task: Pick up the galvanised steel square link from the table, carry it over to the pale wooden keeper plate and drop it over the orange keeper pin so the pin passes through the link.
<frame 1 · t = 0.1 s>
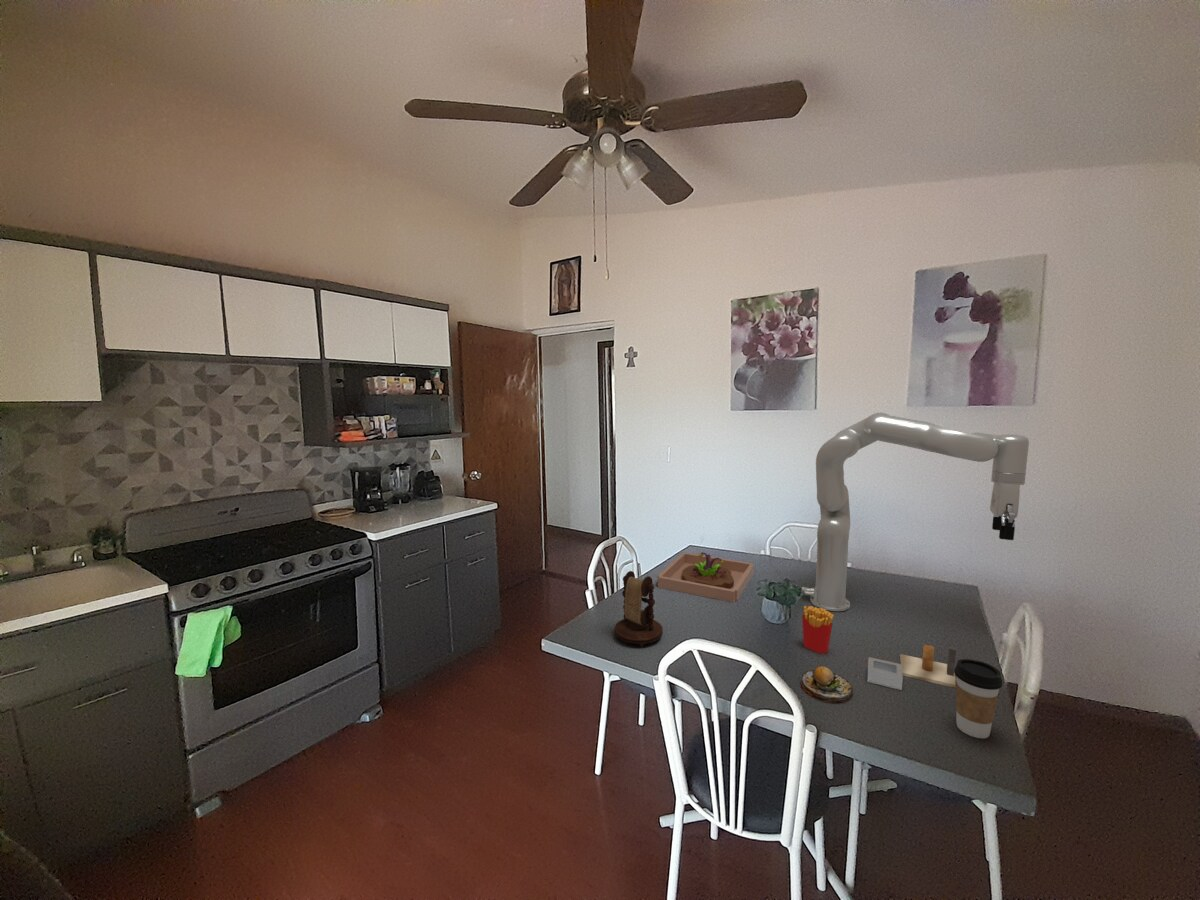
hand: (1002, 534, 146), 31 cm above the table, fingers open, 9 cm apart
keeper: (927, 671, 132), on the table
coffee cup: (972, 729, 110), on the table
french fries: (816, 649, 144), on the table
scroll: (638, 636, 153), on the table
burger: (825, 690, 126), on the table
link: (884, 679, 129), on the table
plant saucer: (706, 579, 194), on the table
plant: (706, 580, 194), resting in plant saucer
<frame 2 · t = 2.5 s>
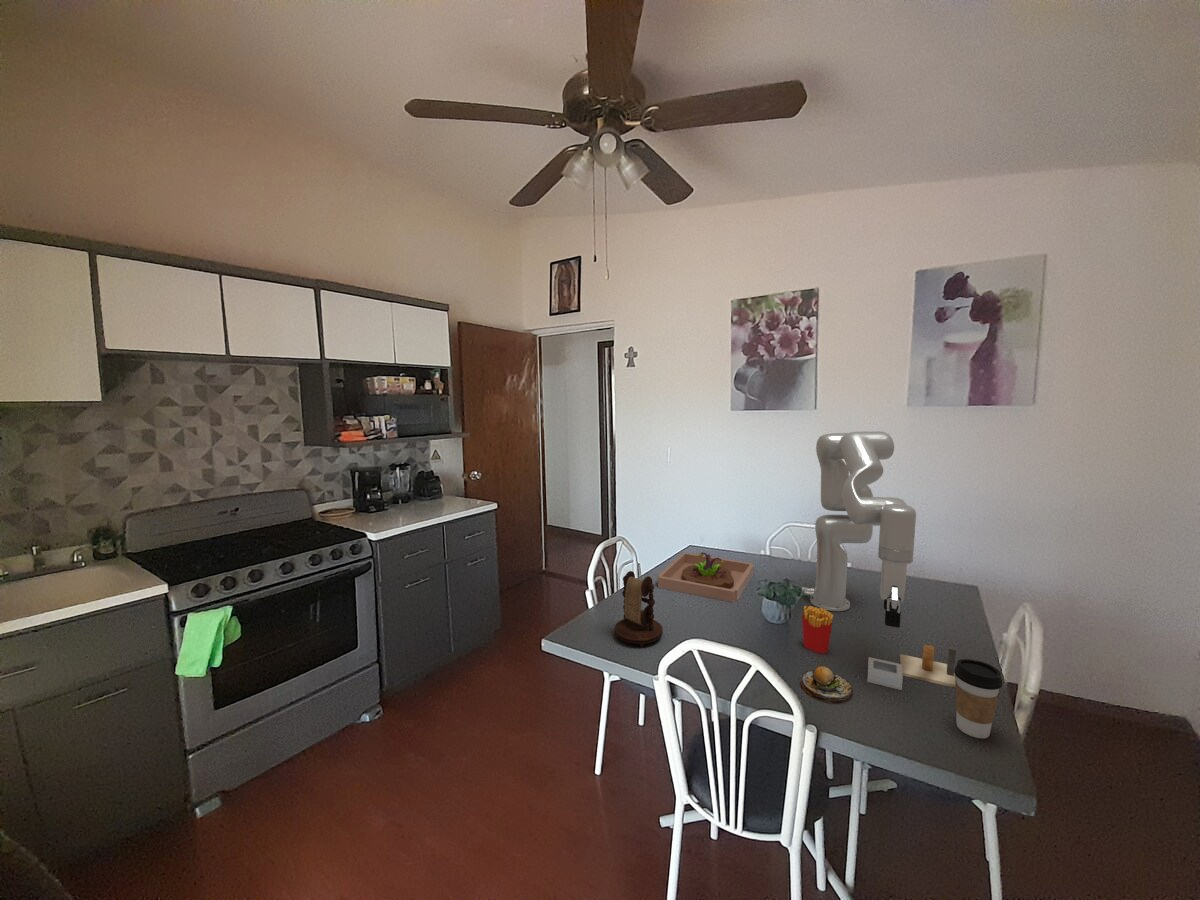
hand: (891, 617, 127), 17 cm above the table, fingers open, 9 cm apart
nothing on the table moved.
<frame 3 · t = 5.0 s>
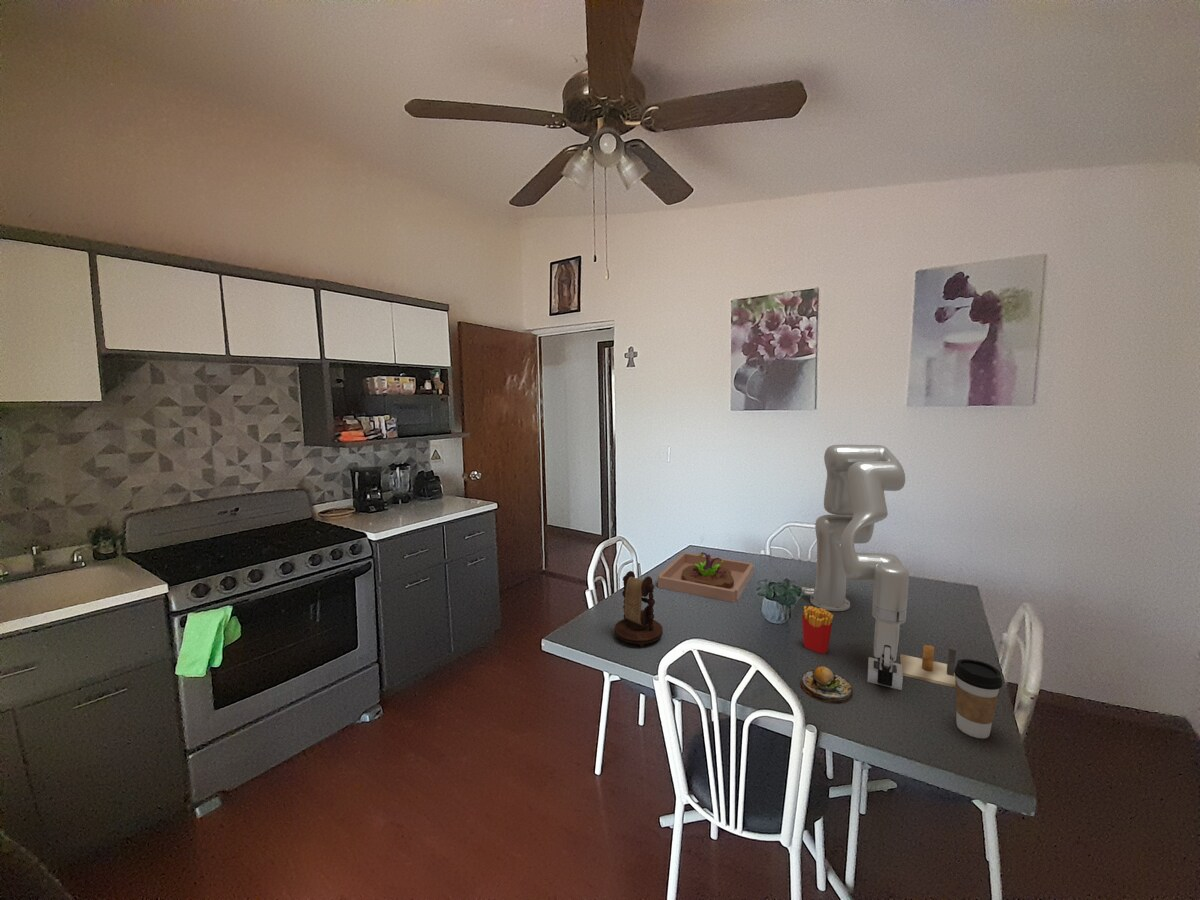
hand: (884, 676, 129), 1 cm above the table, fingers closed on link, 6 cm apart
link: (884, 679, 129), on the table, touching gripper
everything else where it was.
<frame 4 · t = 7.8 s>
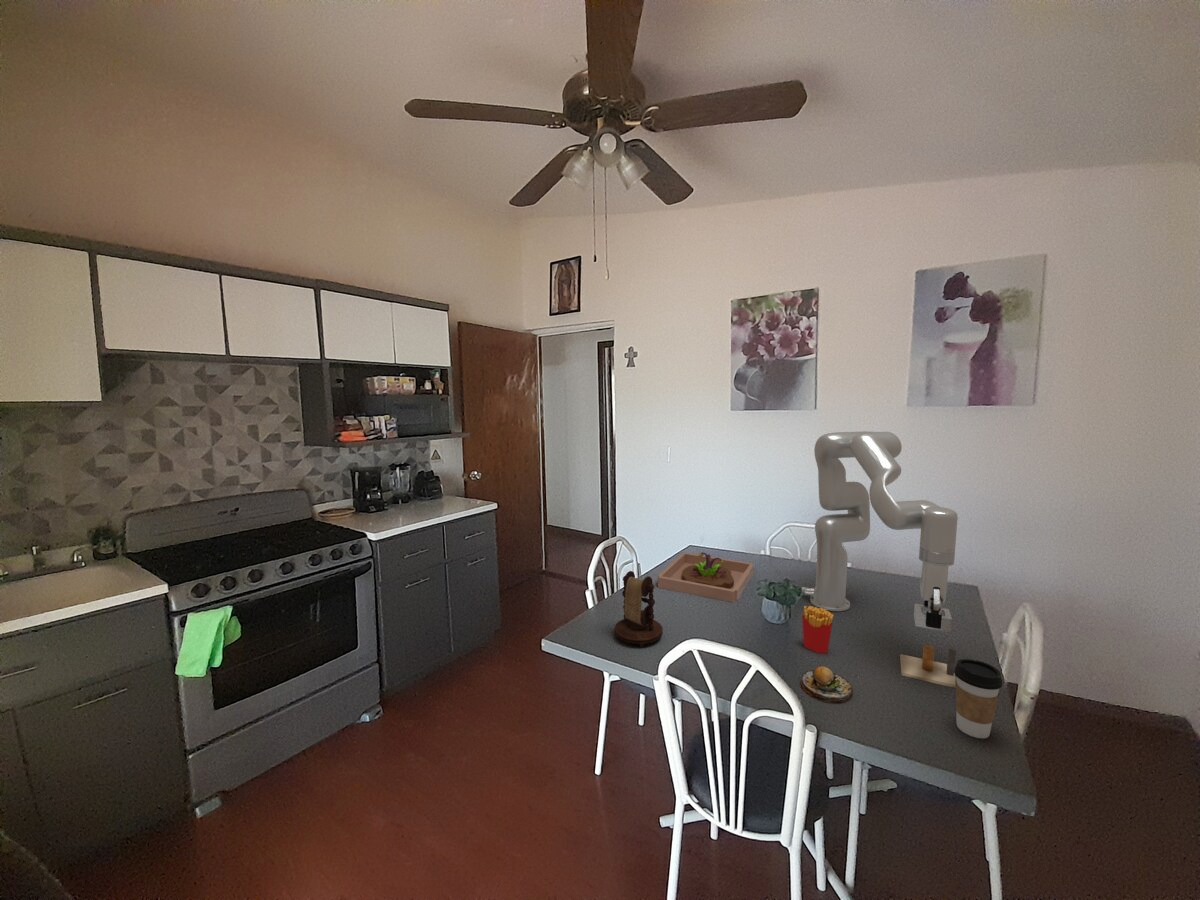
hand: (931, 620, 129), 14 cm above the table, fingers closed on link, 6 cm apart
link: (931, 623, 129), point 14 cm above the table, touching gripper
everything else where it was.
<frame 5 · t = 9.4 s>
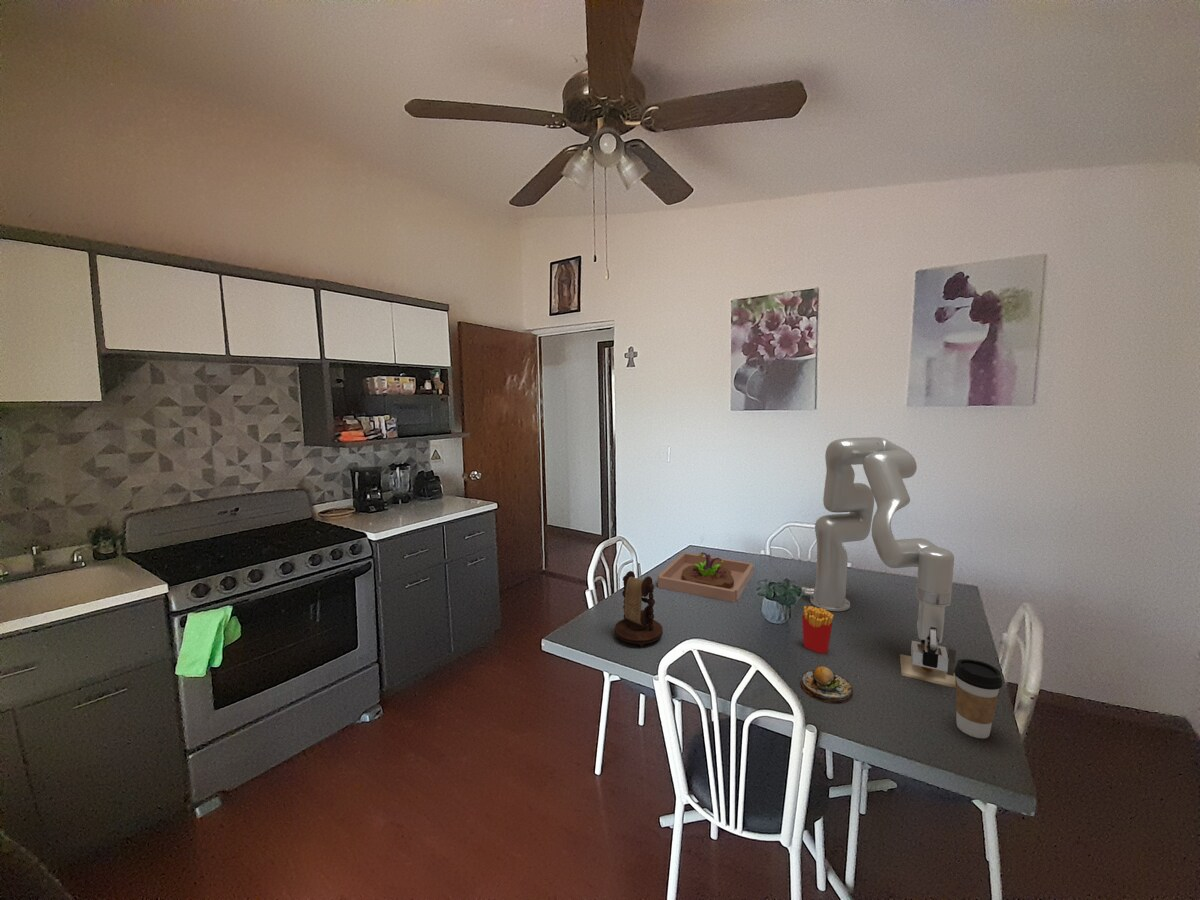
hand: (928, 658, 131), 4 cm above the table, fingers closed on link, 6 cm apart
link: (928, 661, 131), point 3 cm above the table, touching gripper
everything else where it was.
when the fingers open (3 cm above the table, at t = 10.5 s): link drops 1 cm, resting on keeper.
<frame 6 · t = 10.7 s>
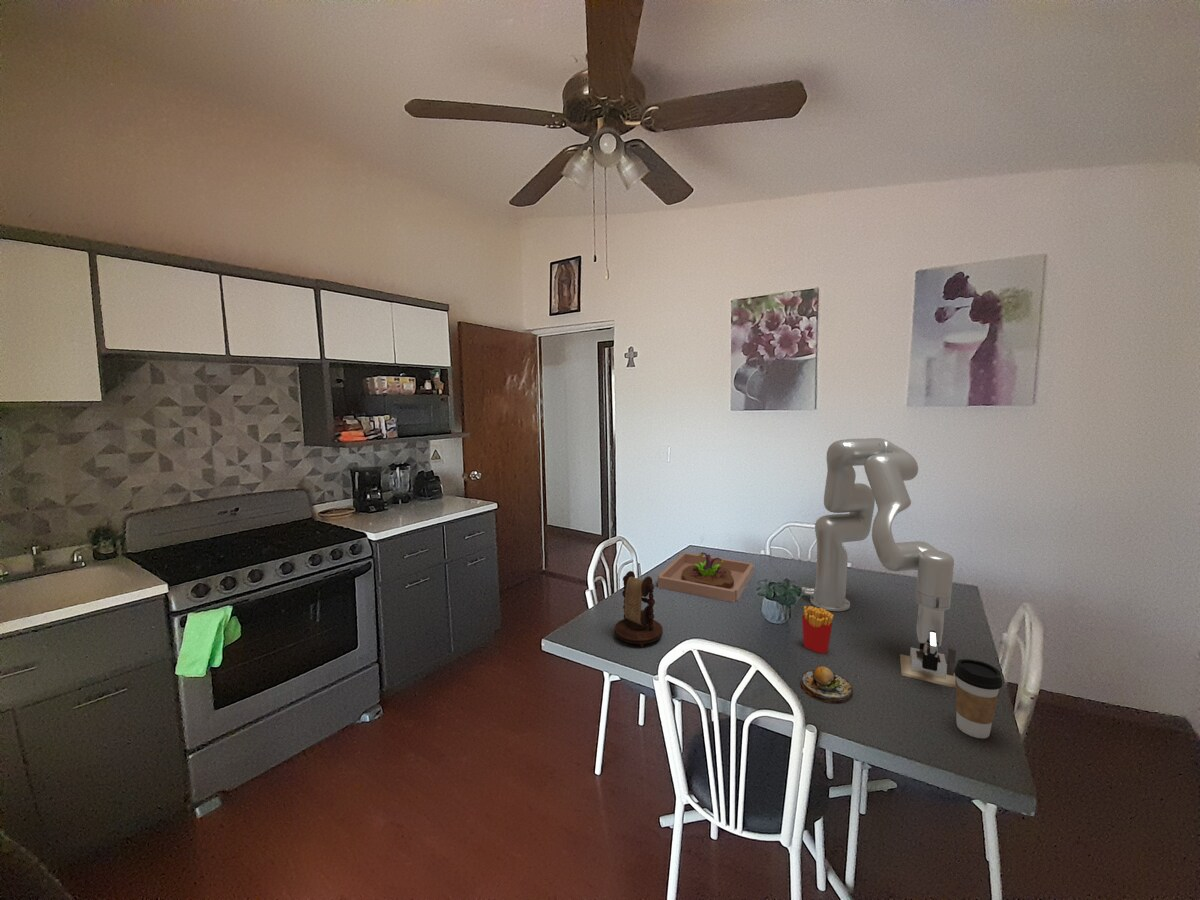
hand: (927, 660, 131), 3 cm above the table, fingers open, 8 cm apart
link: (927, 668, 132), point 1 cm above the table, touching keeper
everything else where it was.
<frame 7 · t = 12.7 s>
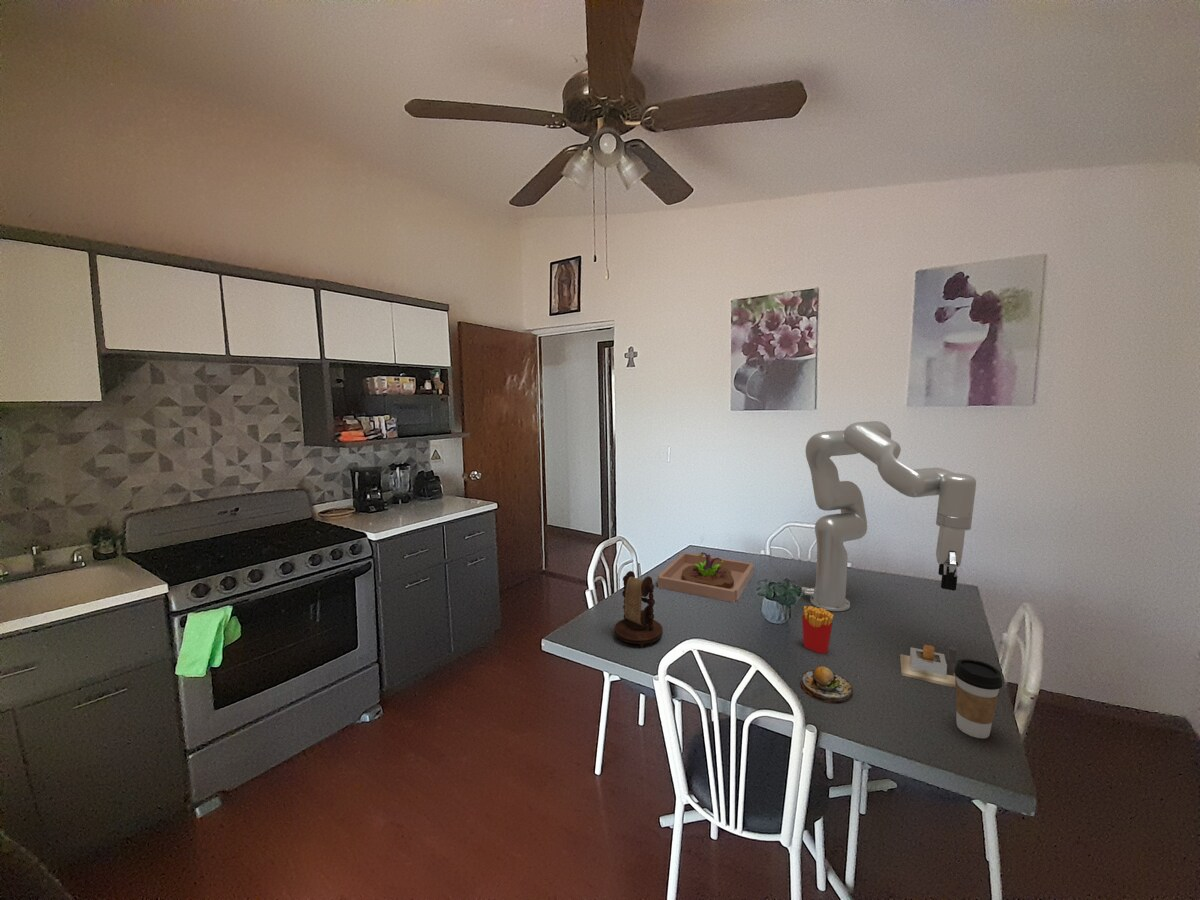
hand: (946, 582, 132), 23 cm above the table, fingers open, 9 cm apart
nothing on the table moved.
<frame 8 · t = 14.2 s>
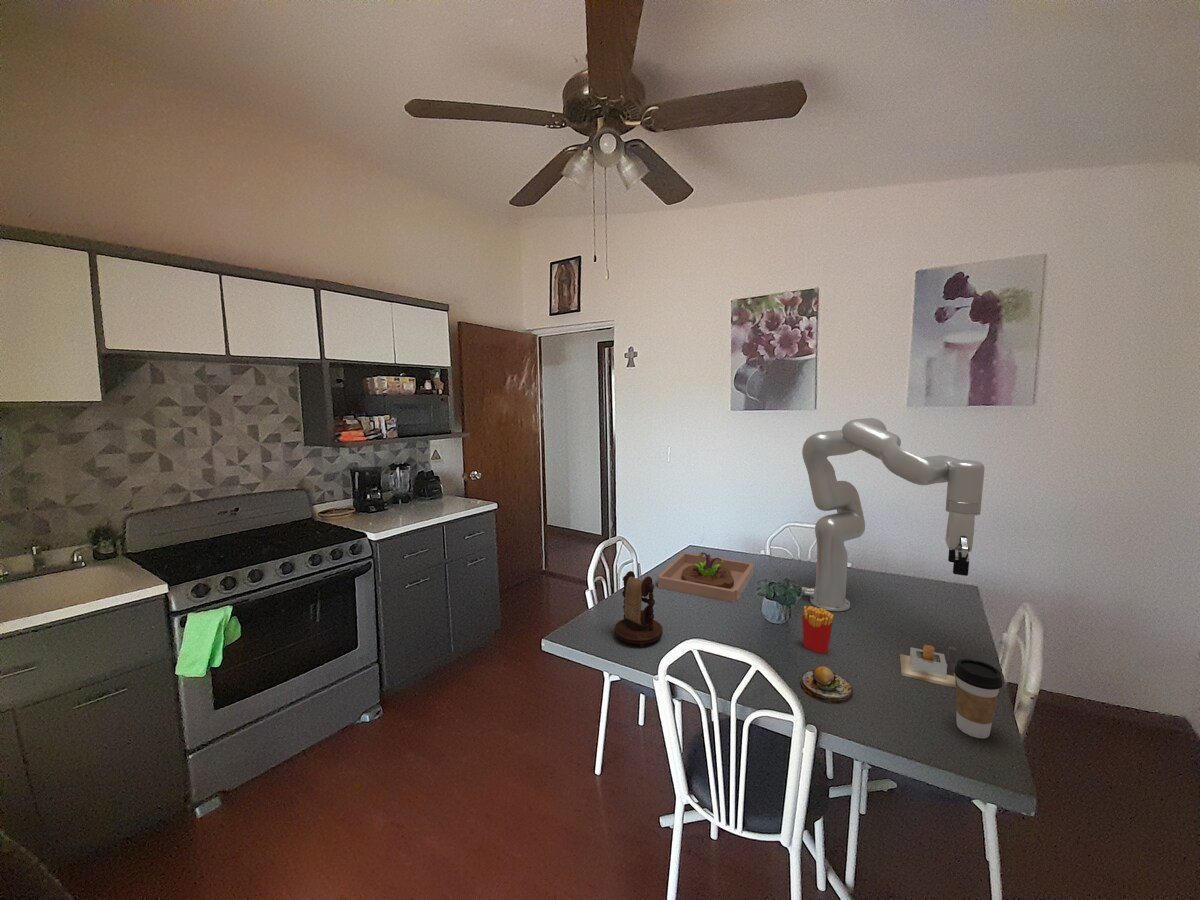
hand: (957, 568, 134), 26 cm above the table, fingers open, 9 cm apart
nothing on the table moved.
at the end: link 0.1 cm off-centre on the keeper, point 0.8 cm above the keeper's base; the gripper is holding nothing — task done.
